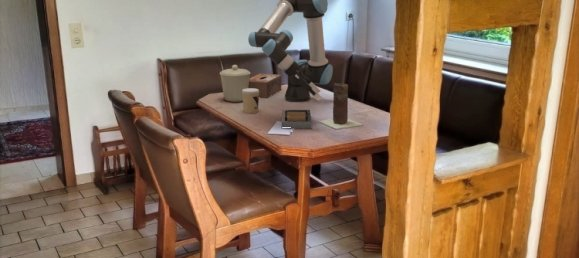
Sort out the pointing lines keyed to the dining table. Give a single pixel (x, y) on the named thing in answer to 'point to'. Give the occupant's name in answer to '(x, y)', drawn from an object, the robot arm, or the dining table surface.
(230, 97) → the canister
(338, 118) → the dark brown tall cylinder
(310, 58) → the robot arm
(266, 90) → the tissue box cover
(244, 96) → the coffee cup
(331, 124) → the mat
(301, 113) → the offcut stack
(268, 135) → the dining table surface
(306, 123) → the offcut rack
